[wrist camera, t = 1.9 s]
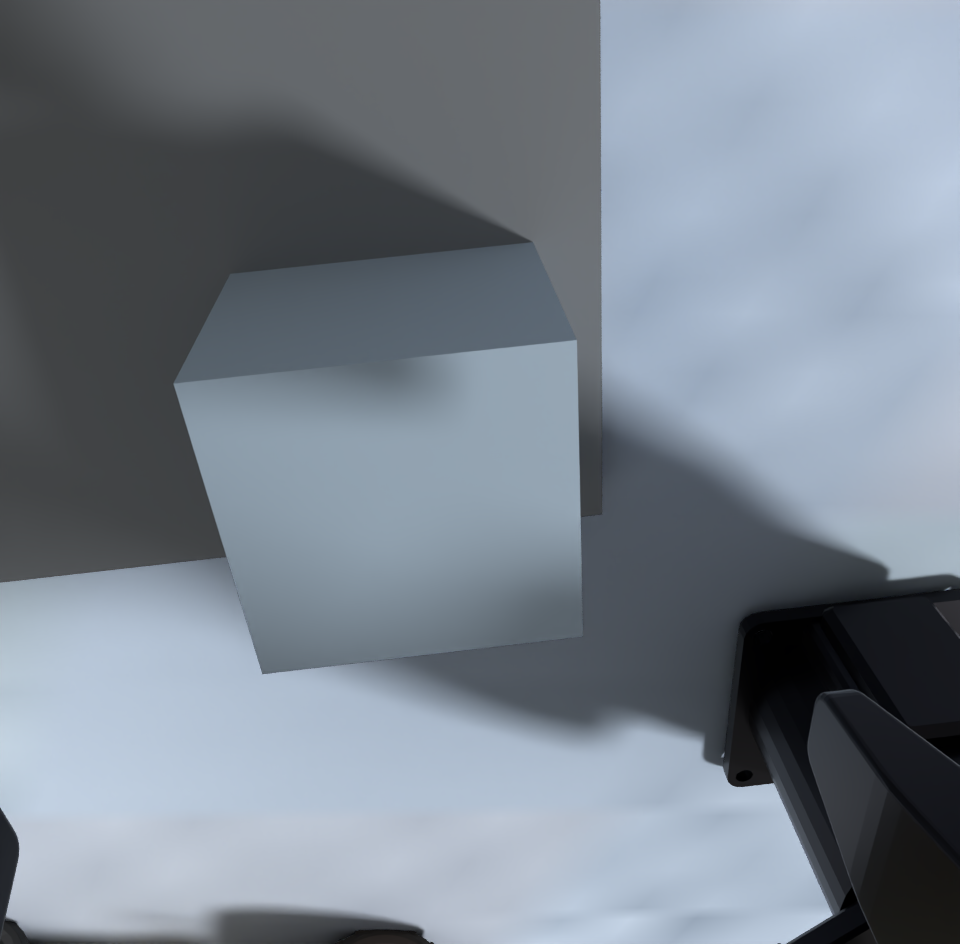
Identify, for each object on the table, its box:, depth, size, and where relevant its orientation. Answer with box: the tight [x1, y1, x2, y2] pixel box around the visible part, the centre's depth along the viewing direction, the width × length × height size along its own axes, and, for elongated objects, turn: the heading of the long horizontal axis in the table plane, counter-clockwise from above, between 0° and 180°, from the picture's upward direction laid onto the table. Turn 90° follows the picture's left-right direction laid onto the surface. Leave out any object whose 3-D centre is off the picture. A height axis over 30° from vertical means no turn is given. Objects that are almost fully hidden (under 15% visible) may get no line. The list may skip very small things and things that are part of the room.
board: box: [0, 0, 602, 582], centre depth 14 cm, size 18×18×1 cm
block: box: [173, 242, 583, 674], centre depth 15 cm, size 6×6×4 cm
